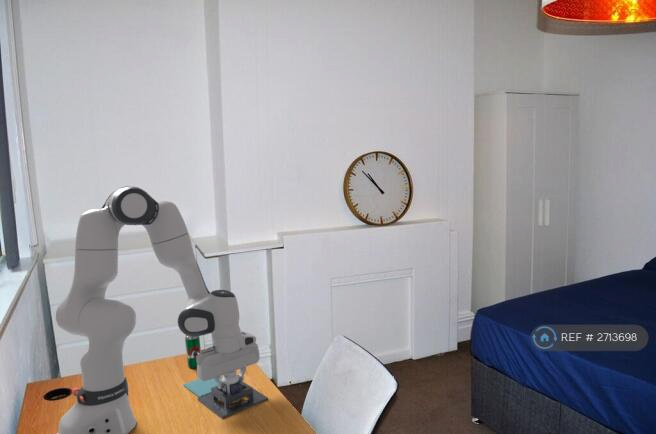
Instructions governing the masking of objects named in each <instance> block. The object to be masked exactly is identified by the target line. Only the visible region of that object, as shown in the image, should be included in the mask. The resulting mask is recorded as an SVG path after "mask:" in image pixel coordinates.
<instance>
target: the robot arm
mask: <svg viewBox="0 0 656 434" xmlns="http://www.w3.org/2000/svg"><path fill="white" fill-rule="evenodd" d="M78 219H79V220H78V223H77V224H78V225H77V228H76V229H77V230H76V235H75V246H74V247H75V249H74V250H75V253H74V273H73V280H72V283H71V287H70V290H69V292H68V294H67V296H66V297H65V299H64V300H62V301H61V302H60V304H59V305H58V307H57V309H56V312H55V321H56V324H57V326H58V327H59V328H60V329H62V330H64V332H65V331H66V332H67V333H69V334H71V335H74V336H81V337H85V338H86V337H87V339H88V350H87V352H86V353H85V354H84V355H83V356H82V357H81V359H80V362H79V366H80V367H79V368H80V373H81V379H82V386H81V388H78V387H77V386H75V387H73V388H72V389H71V394H72V395H73V396H74V397H76V403H74V404H73V405H72V406H71V408H69V410H67V412H65V414H64V415H63V416H61V418H60V419H59V423H58V424H59V425H58V432H59V433H58V432H57V433H55V434H129V433H130V432H131V431H132V430H133V429H134V428H135V427H136V425H137V418H136V417H135V415H134V412H133V410H132V406H131V404H130V400H129V383H128V380H127V377H126V376H125V369H124V368H125V367H124V360H123V359H124V357H123V356H124V355H123V351H124V346H125V341H126V339H127V338H128V337H129V336H130V335H131V334H132V332H133V331H134V330H135V328H136V324H137V315H136V312H135V310H134V308H133V307H132V306H131V305H129V304H127V303H124V302H121V301H119V300H116V299H115V300H114V299H108V298H105V296H106V292H107V288H108V286H109V285H110V283H112V282H113V281H114V280H115V279H116V278H117V276H118V268H119V267H118V265H119V264H118V263H119V236H120V235H119V234H120V232H121V229H122V228H123V227H124V226H142V227H143V228H144V229H145V231H146V232H147V233H148V236H149V240H150V243H151V246H152V249H153V252H154V254H155V256H156V258H157V260H158V262H159V263H160V264H161V265H162V266H164V267H167V268H170V269H173V270H175V271H176V272H177V273H178V274H179V277H180V279H181V282H182V285H183V287H184V289H185V291H186V295H187V304H186V306H184V308H183V309H182V310H181V312H180V313H179V314H178V318H177V326H178V328H179V330H180V332H182V333H183V334H184V335H185V336H186V335H187V336H190V337H196V336H199V337H200V336H205V335H209V334H210V335H211V341H212V342H211V343H212V346H210V347H207V348H205V349H201V351H200V352H199V353H198V354H197V356H196V361H197V368H196V376H197V378H198V379H201V380H202V381H207V380H210V379H214V380H215V381H216V382H217V386H218V388H219V389H222V388H224V382H222V381H219V379H220V376H221V377H222V376H224V374H227V373H230V372H233V371H235V370H236V371H238V370H239V372H238V374H237V375H238V376H239V382H241V381H243V382H245V381H244V380H245V379H244V377H245V374H246V371H247V367H249V366H252V365H255V364H257V363H259V362H260V358H261V356H260V350H259V345H258V344H257V343H256V342H257V337H256V336H255V335H253V334H252V333H249V332H247V331H242V330H241V328H240V324H239V323H240V310H239V309H240V308H239V304H238V300H237V297H236V295H235V293H233V292H231V290H227V289H216V290H212V291H210V290H209V289H208V286H207V285H206V282H205V280H204V276H203V273H202V272H201V268H200V267H199V264H198V261H197V258H196V255H195V252H194V248H193V244H192V241H191V236H190V233H189V230H188V229H187V228H188V227H187V225H186V222H185V220H184V217H183V215H182V214H181V212H180V210H179V208H178V207H177V205H176V204H175V203H174V202H172V201H167V200H164V201H163V200H162V201H157V200H155V199H154V198H153V197H152V196H151V195H150V194H149V193H148V192H146V190H144V189H142V188H140V187H137V186H131V185H130V186H129V185H125V186H122V187H119V188H117V189H115V190H114V191H113V192H111V194H109V196H108V197H107V199H106V201H105V202H104V204H103V205H102V206H101V208H96V209H95V208H93V209H89V210H86V211H84V212H83V213H82V214H81V215H80V217H79V218H78ZM200 353H201V354H200Z"/></svg>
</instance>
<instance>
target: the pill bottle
mask: <svg viewBox="0 0 656 434" xmlns="http://www.w3.org/2000/svg"><path fill="white" fill-rule="evenodd" d="M238 375H239V374H237V370H235V371H233V372H230V373H227V374H224V375H223V376H222V377H223V378H222V382H224V388H222V389H223V393H224V394H226V395H230V394H233V393H235V392H238V391H240V382H239V376H238ZM240 401H241V399H239V400H236V401H234V402H231V403H230V405H231V404H236V403H238V402H240Z"/></svg>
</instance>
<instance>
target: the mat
mask: <svg viewBox="0 0 656 434" xmlns="http://www.w3.org/2000/svg"><path fill="white" fill-rule="evenodd" d="M223 377H224V376H222V375H221V376H220V379H219V381H222V378H223ZM182 385H183V388H186V389H187V390H189V392H191V393H192V394H193V395H195V396H196V397H197V398H200V397H203V396H205V395H208V394H211V388H213V387H215V386H217V382H216V381H215V380H214V379H210V380H207V381H202V380H201V379H199V378H198V379H194V380H192V381H189V382H186V383H183V384H182Z"/></svg>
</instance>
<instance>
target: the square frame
mask: <svg viewBox="0 0 656 434" xmlns="http://www.w3.org/2000/svg"><path fill="white" fill-rule="evenodd" d="M243 398H247V399H246V400H244V401H242V402H239V403H237V404H236V403H235V405H232V406H231V404H230V403H231V402H234V401H236V400H239V399H240V400H241V399H243ZM218 400H220V402H222V403H223V404H224V405H223V404H221V403H220V402H219V401H218ZM197 401H198V402H199V403H201V404H202V405H203V406H205V407H206V408H207V409H209V410H210V411H211V412H212V413H214V414H215V415H217V416H218V417H219V418H221V420H223V419H225V418H228V417H230V416H233V415H234V414H237V413H240V412H242V411H244V410H247V409H249V408H251V407H253V406H256V405H258V404H261V403H264V402H267V401H269V398H268V396H266V395H264V394H263V393H262V392H259V391H258V390H257V389H255V388H254V387H252V386H250V385H249V384H247V383H246V382H245V381H241V382H240V391H238V392H235V393H233V394H230V395H226V394H224V393H223V389H219V388H218V386H215V387H213V388H211V394H208V395H205V396H203V397H200V398H199V397H197Z"/></svg>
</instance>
